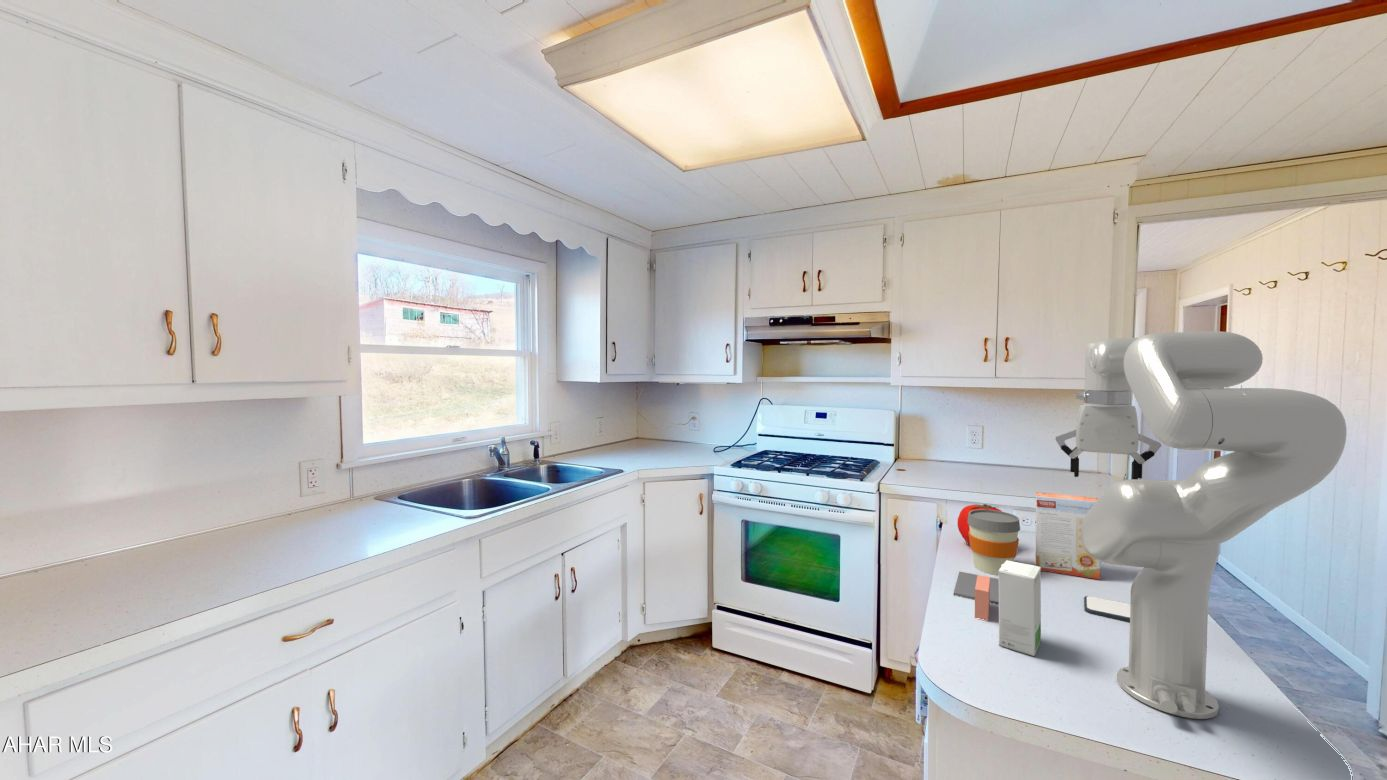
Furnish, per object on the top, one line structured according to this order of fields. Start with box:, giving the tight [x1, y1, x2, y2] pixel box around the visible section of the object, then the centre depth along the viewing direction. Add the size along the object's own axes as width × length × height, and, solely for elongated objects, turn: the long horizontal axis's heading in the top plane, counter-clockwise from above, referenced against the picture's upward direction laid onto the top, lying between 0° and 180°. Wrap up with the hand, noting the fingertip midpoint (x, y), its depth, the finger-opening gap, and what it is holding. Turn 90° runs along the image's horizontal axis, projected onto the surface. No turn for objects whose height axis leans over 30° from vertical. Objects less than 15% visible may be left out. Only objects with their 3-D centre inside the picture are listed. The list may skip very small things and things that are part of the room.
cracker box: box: [1035, 491, 1101, 580], centre depth 135 cm, size 14×6×21 cm, turn 58°
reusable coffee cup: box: [968, 510, 1021, 576], centre depth 138 cm, size 13×13×15 cm
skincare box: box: [998, 560, 1042, 657], centre depth 101 cm, size 8×7×16 cm
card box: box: [974, 574, 991, 621], centre depth 114 cm, size 9×3×7 cm, turn 147°
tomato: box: [957, 503, 1002, 545], centre depth 155 cm, size 16×14×14 cm
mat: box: [953, 571, 999, 605], centre depth 125 cm, size 15×15×1 cm
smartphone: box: [1083, 595, 1130, 624], centre depth 112 cm, size 9×2×16 cm
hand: (1104, 478), depth 106 cm, fingers open, 9 cm apart
